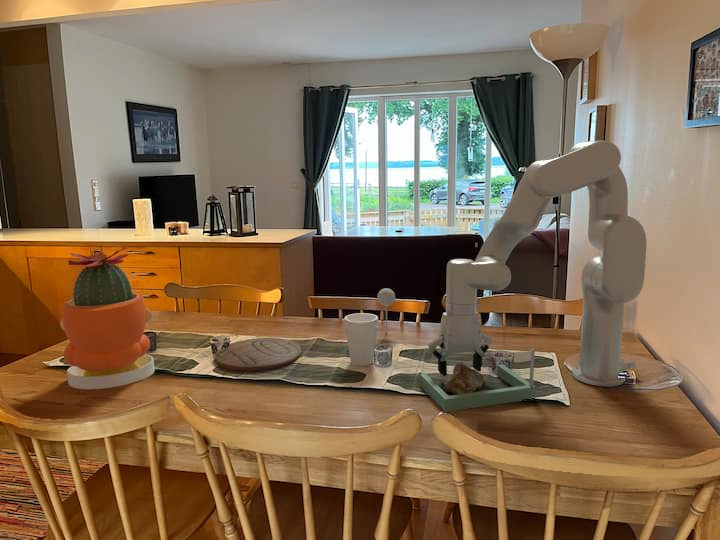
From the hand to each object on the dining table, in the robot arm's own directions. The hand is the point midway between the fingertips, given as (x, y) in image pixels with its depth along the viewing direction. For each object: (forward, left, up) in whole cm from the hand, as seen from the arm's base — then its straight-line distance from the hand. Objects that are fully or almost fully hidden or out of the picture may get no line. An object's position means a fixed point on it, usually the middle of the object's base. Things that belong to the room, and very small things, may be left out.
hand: (460, 372), depth 141 cm
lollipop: (+6, -44, -2) cm, 44 cm away
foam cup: (+21, -20, -2) cm, 29 cm away
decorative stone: (+2, +6, -2) cm, 6 cm away
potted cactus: (+88, -28, -2) cm, 92 cm away
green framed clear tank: (0, +8, -2) cm, 8 cm away
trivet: (+49, -34, -2) cm, 60 cm away
